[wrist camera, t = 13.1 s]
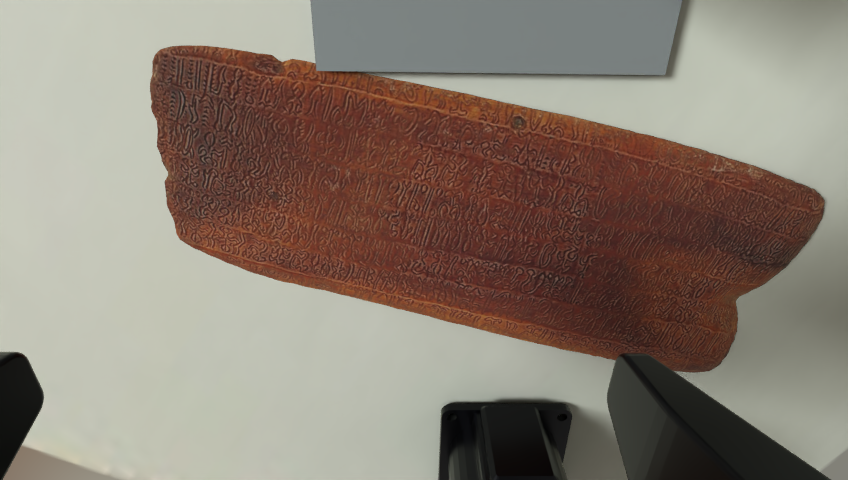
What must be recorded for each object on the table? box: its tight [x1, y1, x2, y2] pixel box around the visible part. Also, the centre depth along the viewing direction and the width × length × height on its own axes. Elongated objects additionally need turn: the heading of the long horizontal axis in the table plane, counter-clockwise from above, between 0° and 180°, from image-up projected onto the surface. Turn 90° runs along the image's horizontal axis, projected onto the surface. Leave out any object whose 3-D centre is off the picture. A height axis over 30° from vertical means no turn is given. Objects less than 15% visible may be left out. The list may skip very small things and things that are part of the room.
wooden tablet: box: [150, 46, 824, 372], centre depth 20 cm, size 27×10×2 cm, turn 75°
